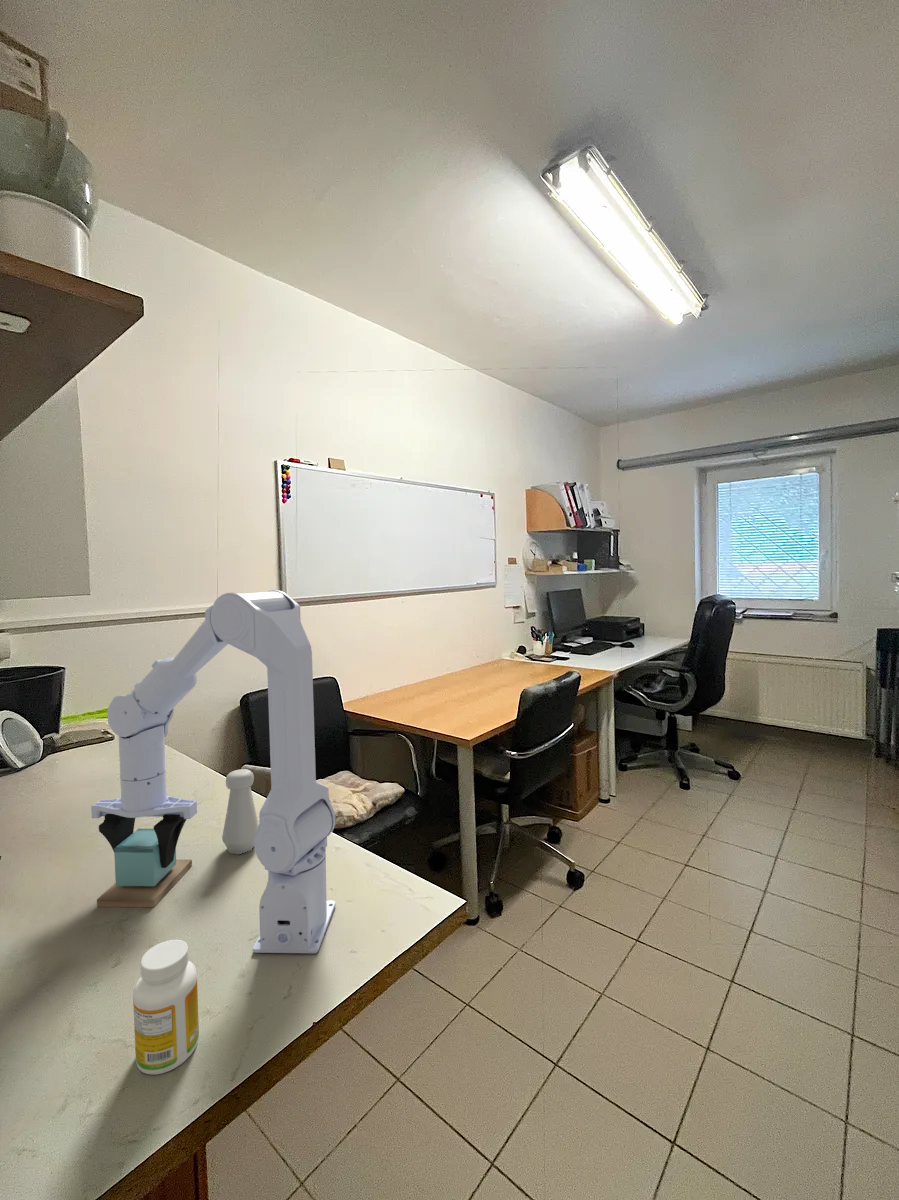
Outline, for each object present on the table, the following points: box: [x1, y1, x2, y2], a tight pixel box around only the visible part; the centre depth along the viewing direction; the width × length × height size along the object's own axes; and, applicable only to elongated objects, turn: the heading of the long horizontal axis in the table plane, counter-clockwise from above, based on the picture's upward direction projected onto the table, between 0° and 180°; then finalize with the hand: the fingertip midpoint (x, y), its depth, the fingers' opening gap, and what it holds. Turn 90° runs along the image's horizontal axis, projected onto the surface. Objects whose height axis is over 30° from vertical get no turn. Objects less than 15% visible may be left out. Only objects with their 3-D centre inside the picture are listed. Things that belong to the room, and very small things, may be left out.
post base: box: [96, 859, 193, 908], centre depth 76 cm, size 10×8×6 cm
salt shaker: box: [221, 768, 259, 855], centre depth 86 cm, size 6×6×13 cm
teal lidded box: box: [113, 828, 177, 886], centre depth 76 cm, size 6×6×6 cm
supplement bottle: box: [132, 939, 200, 1076], centre depth 50 cm, size 5×5×10 cm
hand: (146, 863), depth 76 cm, fingers closed on teal lidded box, 6 cm apart
